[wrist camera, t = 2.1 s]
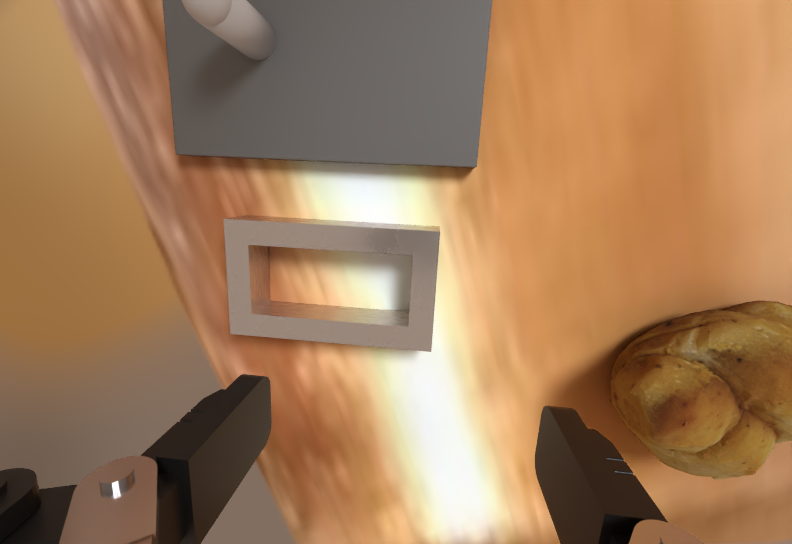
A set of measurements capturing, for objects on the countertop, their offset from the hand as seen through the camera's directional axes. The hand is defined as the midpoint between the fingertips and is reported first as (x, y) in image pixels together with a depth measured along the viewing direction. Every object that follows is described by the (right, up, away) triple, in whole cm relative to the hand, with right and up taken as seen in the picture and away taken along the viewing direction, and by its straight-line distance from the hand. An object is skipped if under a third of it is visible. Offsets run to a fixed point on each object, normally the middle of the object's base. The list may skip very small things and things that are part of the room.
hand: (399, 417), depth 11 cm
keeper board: (-4, +19, +13) cm, 23 cm away
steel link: (-4, +4, +16) cm, 17 cm away
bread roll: (+21, -2, +15) cm, 26 cm away
